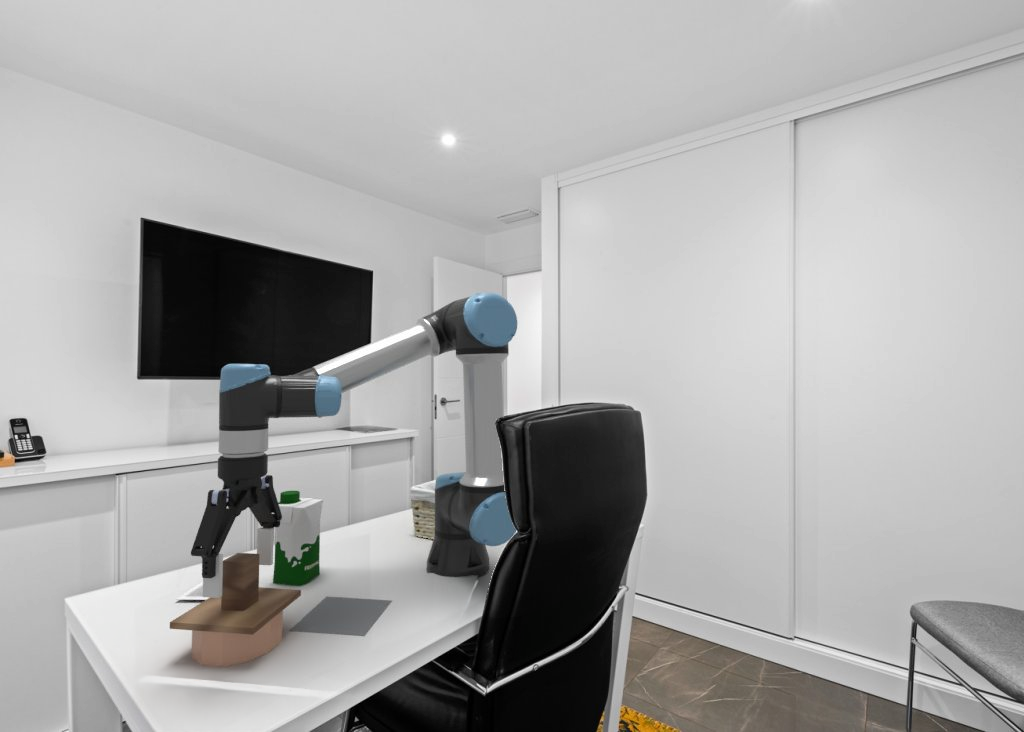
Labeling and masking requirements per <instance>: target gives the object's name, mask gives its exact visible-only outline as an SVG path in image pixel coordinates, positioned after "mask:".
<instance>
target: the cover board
mask: <svg viewBox="0 0 1024 732" xmlns="http://www.w3.org/2000/svg"><path fill="white" fill-rule="evenodd" d="M301 596H302V590H301V589H295V588H294V589H291V588H279V587H278V588H274V587H260V565H259V554H257V553H249V552H248V553H247V552H246V553H245V552H236V553H235V554H233V555H231V556H230V557H227V558H226V559H223V578H222V596H221V597H220V598H208V599H207V600H204V601H201V603H199V604H197V605H195V606H194V607H192V608H191V609H188V610H187V611H185V612H184V613H183V614H181V615H180V616H178V617H176V618H175V619H172V620H171V621H169V629H171V630H184V631H192V630H195V631H209V632H223V633H237V634H251V635H253V634H254V633H256V632H257V631H258V630H259V629H260V628H262V627H263V626H264V625H265V624H267V623H268V622H269V621H270V620H271V619H273V618H274V617H275V616H276V615H278V614H279V613H280V612H281V611H282V610H283V611H284V610H285V609H287V607H289V606H290V605H291V604H292V603H294V602H295V601H297V600H298V598H300V597H301Z"/></svg>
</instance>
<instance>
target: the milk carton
mask: <svg viewBox="0 0 1024 732" xmlns="http://www.w3.org/2000/svg"><path fill="white" fill-rule="evenodd" d="M300 495H301V494H300V491H299V490H286V491H282V492H280V496H279V497H280V498H279V500H280V501H278V504H279V508H280V511H281V514H282V519H281V520H280V526H279V527H274V562H273V564H274V565H273V566H274V567H273V576H272V578H273V579H272V584H277V585H285V586H287V585H288V586H295V587H302V586H305V585H306V584H308V583H309V582H311V581H313V580H314V579H316V578H317V577H318V576H319V575H320V574H321V573H320V572H321V571H320V547H321V545H320V543H321V542H320V541H321V539H320V538H321V517H322V516H321V515H322V509H323V502H324V499H316V498H313V497H312V498H311V497H309V498H308V497H307V498H305V497H300ZM272 514H274V513H272Z"/></svg>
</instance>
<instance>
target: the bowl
mask: <svg viewBox="0 0 1024 732" xmlns="http://www.w3.org/2000/svg"><path fill="white" fill-rule="evenodd" d="M283 611H284V610H282V611H281V612H280V613H279V614H278V615H276V616H275V617H274V618H273V619H271V620H270V621H269V622H268V623H267V624H265V625H264V626H263V627H262V628H260V629H259V630H258V631H257V632H256V633H254V634H253V635H251V634H237V633H223V632H209V631H195V630H191V658H192V659H193V660H195V661H196V662H197V663H198V664H200V665H201V666H212V667H226V666H227V667H228V666H231V665H232V666H233V665H236V664H241V663H248V662H250V661H252V660H254V659H256V658H258V657H261V656H264V655H265V654H268V653H270V652H272V650H273V649H274V648H276V647H277V646H278V645H279V644H280V643H281V642H282V641H283V617H284V616H283V614H284V612H283Z"/></svg>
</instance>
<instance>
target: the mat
mask: <svg viewBox="0 0 1024 732" xmlns="http://www.w3.org/2000/svg"><path fill="white" fill-rule="evenodd" d="M392 602H393V600H391V599H390V600H388V599H374V598H373V599H372V598H357V597H355V598H354V597H344V596H343V597H341V596H325V598H322V600H321V601H320V602H318V603H317V604H316V605H315V607H313V608H312V609H311V610H310V611H308V613H306V615H305V616H304V617H302V618H301V619H300V620H299V621H298V622H297V623H296V624H294V625H293V626H292V627H291V628H290V629H289V630H288V631H289V632H301V633H312V634H313V633H314V634H330V635H341V636H343V635H344V636H355V637H357V636H358V637H365V636H366V635H367V634H368V632H369V631H370V630H371V629H372V628H373V626H374V625H375V624H376V622H377V621H378V620H379V618H380V617H381V616H382V615H383V614H384V612H385V611H386V610H387V608H388V607H389V606H390V604H391V603H392Z"/></svg>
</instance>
